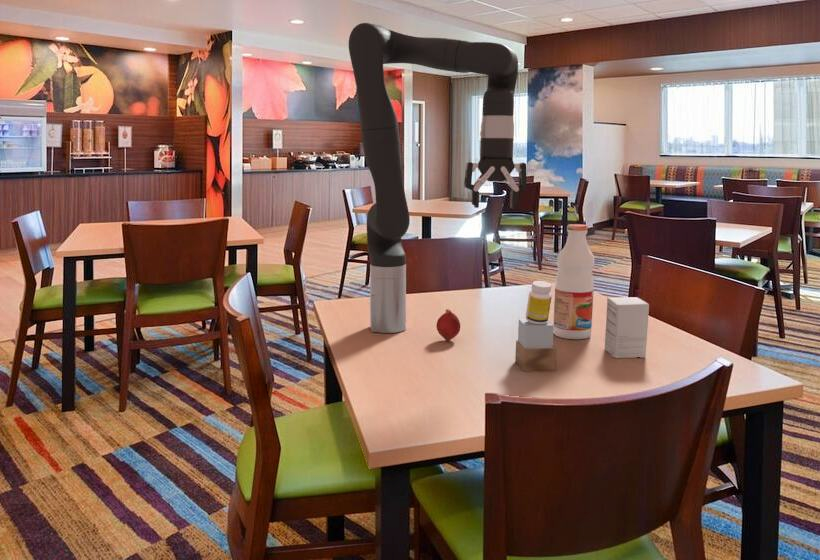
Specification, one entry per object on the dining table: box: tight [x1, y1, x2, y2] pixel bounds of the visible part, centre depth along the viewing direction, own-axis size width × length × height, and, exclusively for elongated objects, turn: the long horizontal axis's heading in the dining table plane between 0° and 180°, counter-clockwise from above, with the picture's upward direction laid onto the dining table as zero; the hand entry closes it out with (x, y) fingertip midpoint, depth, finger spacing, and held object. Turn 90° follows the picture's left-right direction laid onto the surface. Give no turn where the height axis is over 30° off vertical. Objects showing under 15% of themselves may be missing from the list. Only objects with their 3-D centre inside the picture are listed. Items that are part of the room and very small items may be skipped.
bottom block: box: [514, 339, 558, 373], centre depth 145 cm, size 7×7×5 cm
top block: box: [517, 318, 554, 349], centre depth 144 cm, size 6×6×5 cm
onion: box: [435, 308, 461, 342], centre depth 164 cm, size 6×6×8 cm
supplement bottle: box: [525, 280, 553, 324], centre depth 142 cm, size 5×5×8 cm
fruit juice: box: [552, 223, 596, 340], centre depth 167 cm, size 9×9×28 cm
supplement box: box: [604, 296, 650, 359], centre depth 153 cm, size 7×7×13 cm
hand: (494, 207), depth 156 cm, fingers open, 8 cm apart
